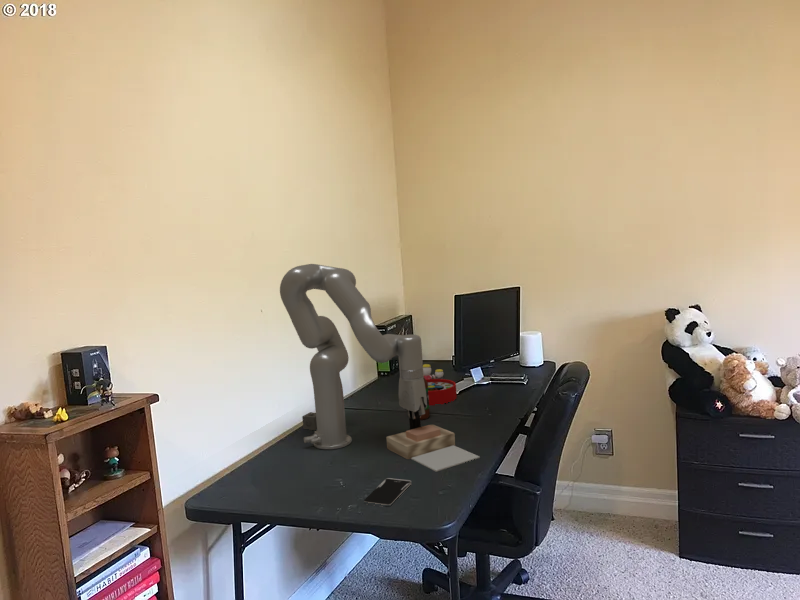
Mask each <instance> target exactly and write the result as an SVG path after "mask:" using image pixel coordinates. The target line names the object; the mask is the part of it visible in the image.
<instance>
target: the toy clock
mask: <svg viewBox="0 0 800 600" xmlns="http://www.w3.org/2000/svg"><path fill="white" fill-rule="evenodd" d="M426 381H427V383H428V395H429V406H436V405H435V404H441V405H445V404H444V403H446V404H449V403H448V402H450V403H452V402H454V401H455V399H457V396H458V395H457V383H456V382H455V381H453V380H451V379H445V378H444V379H434V378H432V379H426ZM451 401H452V402H451Z"/></svg>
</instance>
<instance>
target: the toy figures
mask: <svg viewBox="0 0 800 600" xmlns="http://www.w3.org/2000/svg"><path fill="white" fill-rule="evenodd" d="M431 367H432V366H431V364H428V363H423V374H424V378H425V379H445V377H446V376H444V370H443V369H440V368H439V369H438V368H437V369H435V372H434V374H431V373H432V368H431Z"/></svg>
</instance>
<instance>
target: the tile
mask: <svg viewBox="0 0 800 600" xmlns="http://www.w3.org/2000/svg"><path fill="white" fill-rule="evenodd" d="M431 425H432V424H428V425H423V426H421V427H419V428H415V429H411V430H410V429H409V430H406V431H405V432H406V437H407V438H409V439H411V440H414V441H416V442H418V441H422V440H426V439H429V438H433V437H436V436H440V435H441V434H440V429H439V428H436V427H434V426H431Z"/></svg>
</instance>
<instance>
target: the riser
mask: <svg viewBox="0 0 800 600" xmlns="http://www.w3.org/2000/svg"><path fill="white" fill-rule="evenodd" d="M430 425H431V426H434V427H436V428H439V429H440V434H441V435H440V436H436V437H433V438H429V439H426V440H422V441H418V442H416V441H414V440H411V439H409V438H407V437H406V431H404V432H400V433H396V434H391V435H388V436H386V437H385V438H386V449H387V450H389V452H390V451H391V452H392V453H395V454H396V455H398V456H400V457H402V458H404V459H406V460H410V459H411V458H412V457H416V456H419V455H422V454H426V453H429V452H433V451H436V450H439V449H443V448H446V447H450V446H453V445H454V446H456V437H455V435H456V434H455V432H453V431H450V430H448V429H445V428H442V427H440V426H438V425H435V424H430ZM411 460H412V459H411Z"/></svg>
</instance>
